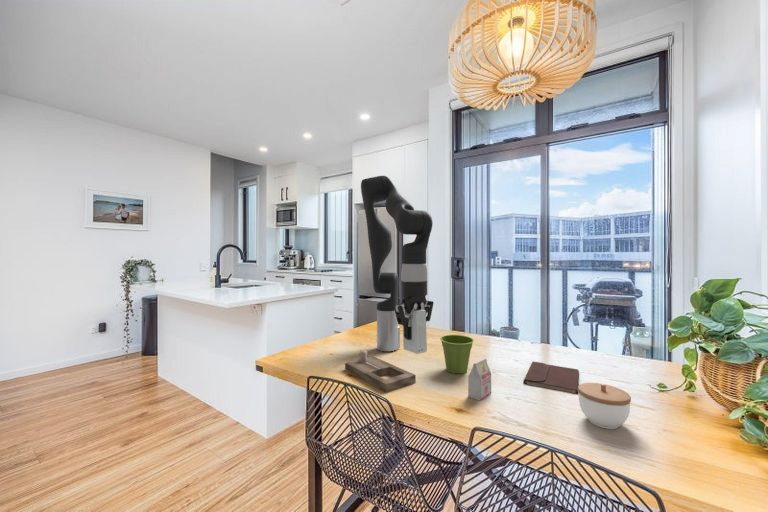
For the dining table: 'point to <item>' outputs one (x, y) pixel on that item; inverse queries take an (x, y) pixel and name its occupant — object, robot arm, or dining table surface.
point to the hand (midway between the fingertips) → (414, 337)
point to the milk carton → (479, 380)
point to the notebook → (553, 377)
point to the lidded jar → (604, 404)
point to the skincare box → (417, 333)
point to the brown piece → (379, 372)
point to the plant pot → (456, 352)
